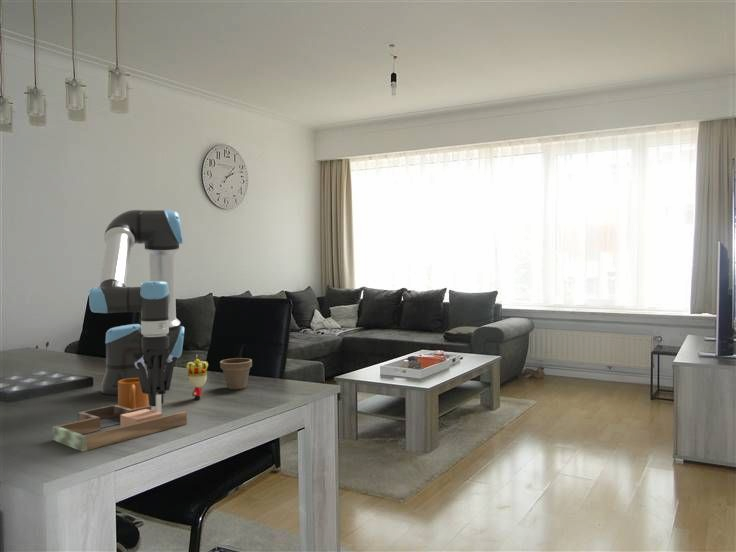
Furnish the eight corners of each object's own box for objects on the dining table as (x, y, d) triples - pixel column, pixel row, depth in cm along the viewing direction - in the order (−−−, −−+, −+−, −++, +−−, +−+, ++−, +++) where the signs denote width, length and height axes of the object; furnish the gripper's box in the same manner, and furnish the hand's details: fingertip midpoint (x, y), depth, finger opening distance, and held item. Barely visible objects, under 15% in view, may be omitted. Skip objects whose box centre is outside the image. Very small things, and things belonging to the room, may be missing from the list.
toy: (189, 396, 203) (188, 353, 203) (210, 396, 204) (210, 352, 204) (184, 401, 196) (183, 356, 196) (206, 401, 197) (206, 356, 196)
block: (120, 428, 167) (120, 414, 166) (146, 422, 173) (146, 408, 173) (136, 434, 162) (136, 419, 162) (162, 427, 168) (162, 413, 168)
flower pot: (213, 389, 214) (213, 361, 214) (232, 383, 224) (231, 356, 224) (240, 392, 210) (240, 364, 209) (258, 385, 220) (258, 358, 220)
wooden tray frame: (37, 433, 161) (36, 420, 161) (139, 410, 185) (138, 399, 185) (82, 451, 146) (82, 437, 146) (186, 424, 170) (186, 411, 170)
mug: (111, 415, 180) (110, 385, 180) (122, 406, 192) (121, 378, 192) (142, 413, 181) (141, 384, 181) (151, 404, 193) (150, 376, 193)
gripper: (141, 338, 163) (143, 423, 164) (182, 333, 173) (183, 413, 174) (126, 336, 167) (128, 419, 168) (167, 331, 178) (168, 409, 178)
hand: (156, 416), depth 171 cm, fingers closed
